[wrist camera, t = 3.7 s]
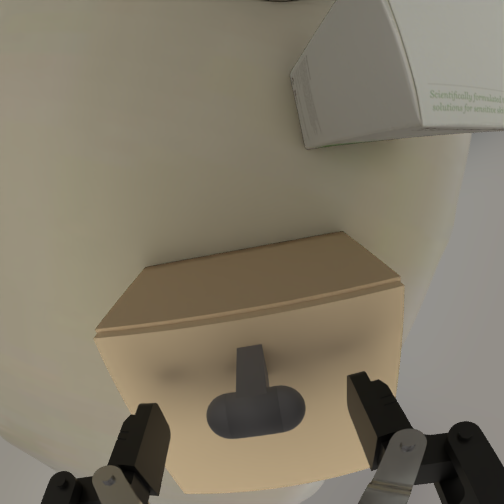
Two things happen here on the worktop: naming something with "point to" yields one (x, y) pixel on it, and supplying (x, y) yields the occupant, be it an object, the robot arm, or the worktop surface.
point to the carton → (247, 281)
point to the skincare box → (401, 71)
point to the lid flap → (261, 387)
